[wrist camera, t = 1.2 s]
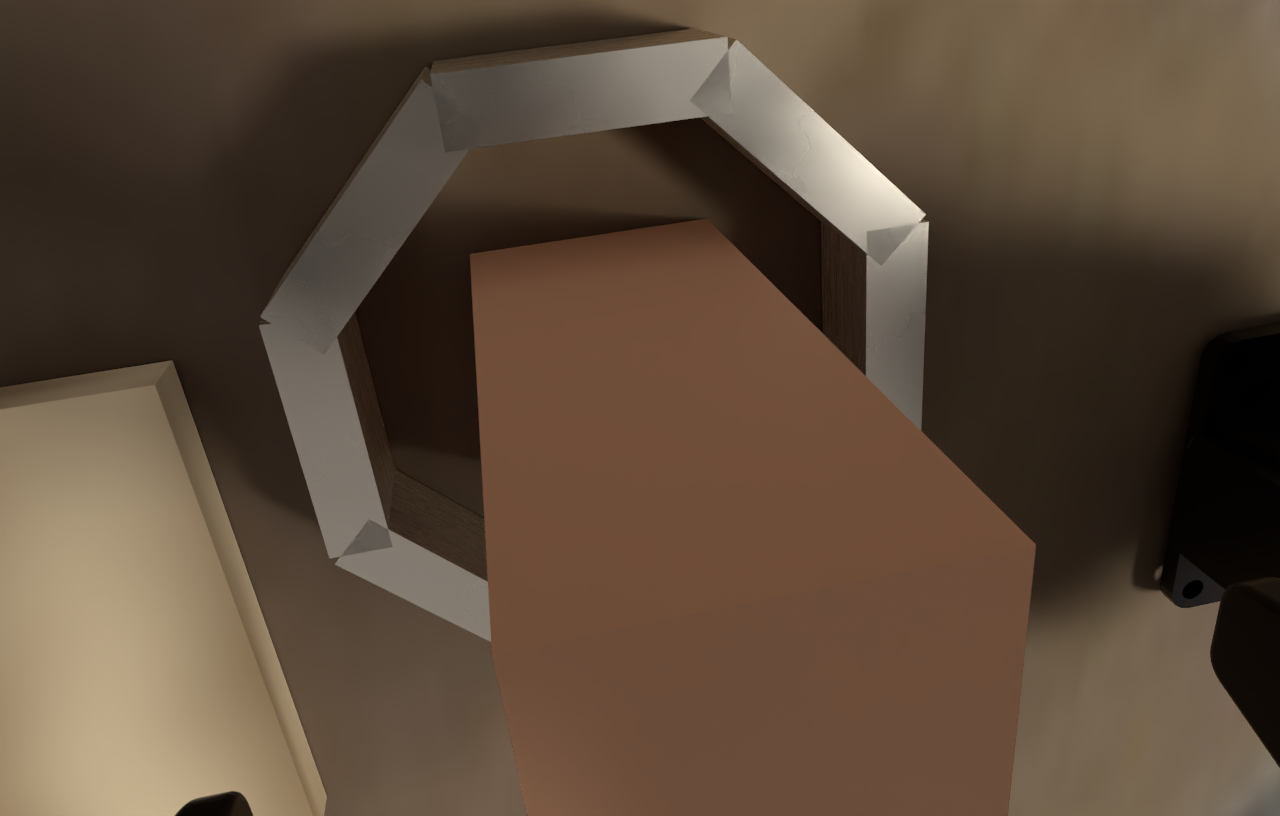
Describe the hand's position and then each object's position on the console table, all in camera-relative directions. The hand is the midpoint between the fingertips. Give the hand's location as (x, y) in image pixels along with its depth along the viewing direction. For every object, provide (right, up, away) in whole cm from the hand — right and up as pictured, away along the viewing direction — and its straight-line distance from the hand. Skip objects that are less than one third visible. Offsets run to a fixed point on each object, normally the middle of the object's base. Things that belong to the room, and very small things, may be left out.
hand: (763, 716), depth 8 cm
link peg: (-2, +4, +8) cm, 9 cm away
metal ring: (-2, +4, +8) cm, 9 cm away
